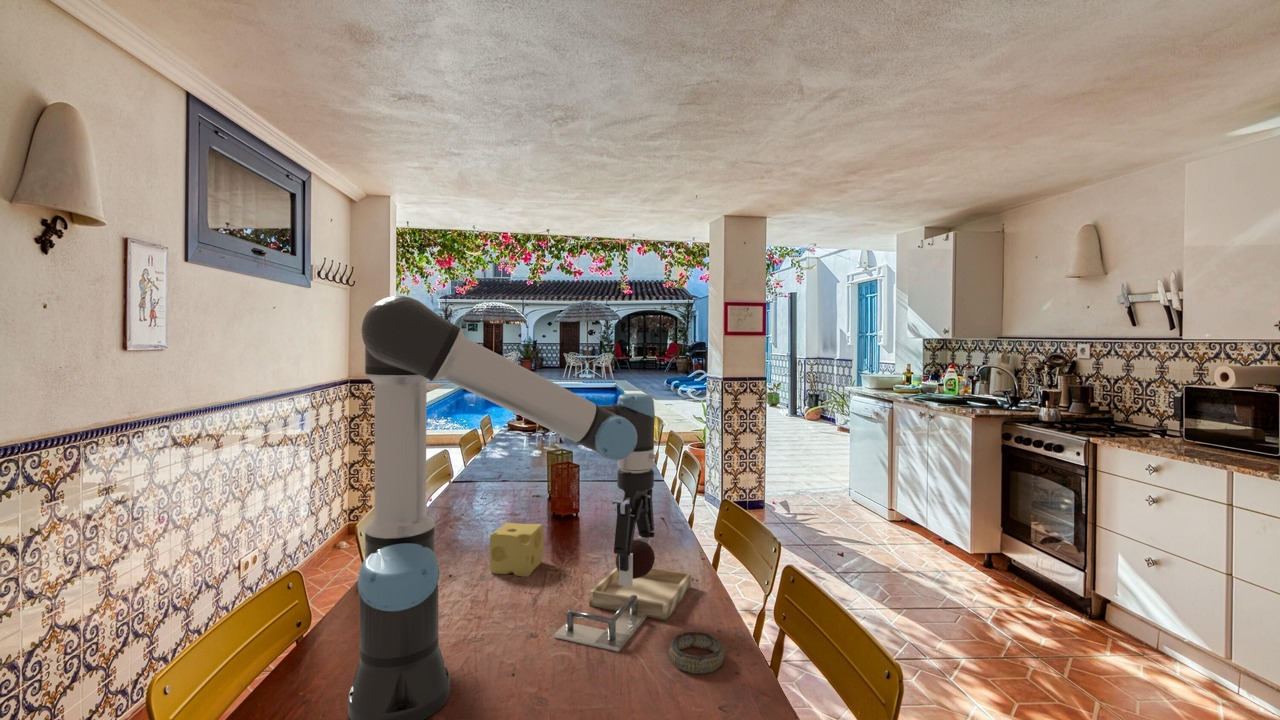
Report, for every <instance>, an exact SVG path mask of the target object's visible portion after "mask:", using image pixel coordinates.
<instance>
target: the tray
mask: <svg viewBox="0 0 1280 720" xmlns="http://www.w3.org/2000/svg"><path fill="white" fill-rule="evenodd" d="M691 587H692V573H691V572H690V573H689V572H684V571H683V572H682V571H677V570H671V569H665V568H659V567H652V569H651V570H650V572H649V573H647V574H646V575H645V576H643V577H640V578H636V579H633V586H632V587H629V586H623V585H619V571H618V569H617V567H614V569H612V570H611V571H610V572H609V573H608V574H607V575H605V577H603V579H601V580H600V581H599V582H598V583H597V584H596V585H595V586H594V587H592V589H590V590H589V594H588V595H589V596H588V597H589V601H588V602H589V606H590V607H594V608H599V609H606V610H610V611H616V612H617V611H618V610H619V609H620V608H621V607H622V606H623V605H624V604H625V603H626V602H627V601H628V599H629V598H630V596H631V595H636V596H637V611H638V612H643V613H647V617H646V618H651V619H654V620H655V619H656V620H660V621H668V619H669V618H670V616H671V615H672V614H673V612H674V611H675V610H676V609H677V607H678V606H679V604H680V603H681V601H682V600H683V599H684V597H685V596H686V595H687V593H688V592H689V590H690V589H691ZM627 609H628V610H630V606H629V607H628V608H627Z"/></svg>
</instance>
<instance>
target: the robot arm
mask: <svg viewBox="0 0 1280 720" xmlns="http://www.w3.org/2000/svg"><path fill="white" fill-rule="evenodd" d="M361 337H362V342H363V344H364V346H365V347H364V357H365V358H364V360H365V361H364V366H365V367H364V368H365V369H364V372H365V373H364V375H365V377H366V378H368V380H369V381H371V382H372V383H373V385H374V519H372V521H371V522H370V523H369V524H368V525H367V526H365V530H364V531H365V532H364V537H365V538H364V541H365V542H364V560H363V561H362V563H361V565H360V567H359V573H358V578H357V591H358V595H359V597H358V598H359V599H358V600H359V601H358V602H359V606H358V607H359V613H358V614H359V663H358V665H357V669H356V671H355V674H354V677H353V682H352V685H351V688H350V690H349V693H348V698H347V714H348V718H349V720H424V719H425V720H426V719H427V720H428V717H429V718H430V717H432V716H433V715H435V714H436V713H437V712H439V711H440V710H441V709H442V708H443V707H444V706H445V705H446V703H447V702H448V700H449V698H450V695H451V675H450V673H449V670H448V669H447V667H446V665H445V661H444V658H443V655H442V652H441V649H440V645H439V580H440V567H439V564H438V563H439V562H438V557H437V556H436V555H437V554H436V551H435V550H436V549H435V544H436V542H435V539H436V538H435V537H436V535H435V534H436V533H435V529H436V527H435V525H436V524H435V520H433V519H432V518H431V517H430V516H429V515H428V514H427V385H428V383H429V381H432V382H436V381H439V380H445V381H447V382H449V383H451V384H453V385H455V386H457V387H459V388H462V389H463V390H466V391H467V392H470V393H472V394H474V395H476V396H478V397H481V398H483V399H484V400H487V401H489V402H491V403H493V404H496V405H497V406H499V407H501V408H503V409H506V410H508V411H511V412H512V413H514V414H516V415H519V416H521V417H522V418H525V419H526V420H529V421H531V422H533V423H535V424H537V425H539V426H542V427H544V428H546V429H548V430H550V431H553V432H554V433H556V434H558V435H559V437H560V439H561V441H562V442H563V444H565V445H566V446H567V445H568V446H569V445H575V446H579V445H580V446H583V447H585V448H588V449H589V450H591V451H593V452H596V453H597V454H599V455H600V456H601V457H602V458H606V459H607V460H608V459H609V460H613V461H617V468H619V469H618V470H617V476H616V477H617V479H616V480H617V482H616V483H617V485H616V486H617V488H618V489H620V490H622V491H623V492H624V493H623V494H624V495H623V499H622V502H617V504H616V523H615V524H616V525H615V532H614V533H615V535H614V544H613V545H614V546H613V554H615V555H617V554H619V585H623V586H629V587H632V586H633V553H631V548H632V543H633V540H634V536H635V530H636V528H637V531H638V537H636V540H640V541H643V542H646V543H647V544H649V545H650V546H651V538H655V532H654V531H655V519H654V509H653V508H654V507H653V488H654V487H655V485H654V484H655V478H654V477H655V476H654V475H655V473H654V472H655V471H654V469H653V468H654V467H655V465H654V464H655V463H654V462H655V459H656V458H657V455H656V454H654V453H655V444H654V443H655V419H656V415H655V414H656V413H655V411H656V410H655V403H654V402H655V400H654V398H653V397H652V395H650V394H647V393H623V394H620V395H619V396H618V398H617V401H616V403H615V404H609V405H598V404H596V403H594V402H593V401H590V400H589V399H586V398H585V397H583V396H581V395H578V394H577V393H574V392H572V391H571V390H569V389H567V388H565V387H563V386H562V385H559V384H557V383H555V382H553V381H551V380H549V379H547V378H545V377H543V376H542V375H540V374H538V373H536V372H534V371H532V370H530V369H528V368H526V367H524V366H522V365H520V364H518V363H516V362H515V361H512V360H511V359H509V358H506V357H504V356H502V355H501V354H498V353H497V352H495V351H494V350H493V351H492V350H491V349H489V348H486V347H484V346H483V345H481V344H479V343H477V342H475V341H473V340H471V339H470V338H468V337H466V336H465V334H464V330H463V328H461V327H460V326H457V325H455V324H453V323H452V322H450V321H448V320H446V319H445V318H444V317H442V316H440V315H439V314H438V313H436V312H434V311H433V310H432V309H430V307H428V306H427V305H425V304H424V303H423V302H421V301H419V300H417V299H415V298H413V297H410V296H404V295H394V296H389V297H386V298H383V299H380V300H379V301H377V302H375V303H374V304H373V305H372V306H371V307H370V308H369V309H368V311H367V312H366V313H365V316H364V317H363V319H362V324H361Z"/></svg>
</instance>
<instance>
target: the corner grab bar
mask: <svg viewBox="0 0 1280 720" xmlns="http://www.w3.org/2000/svg"><path fill="white" fill-rule="evenodd" d="M629 606H630V610H628V609H627V608H628V607H629ZM565 613H566V616H565V617H566V622H565V624H563V625H561V627H560V628H558V630H557V631H555V633H554V638H555V639H559V640H562V641H568V642H572V643H577V644H581V645H584V646H585V645H586V646H591V647H594V648H595V647H596V648H600V649H604V650H608V651H612V652H616V653H617V652H618V653H619V652H620V651H621V650H622V648H623V647H624V646H625V645H626V643H627V642H628V641H629V639H631V637H632V636H633V635H634V633H635V632H636V631H637V630H638V629H637V628H639V627H640V626H641V624H643V622H644V621H645V620H646V619H647V618H648V617H647V613H643V612H638V611H637V596H636V595H631V596H630V598H629V599H628V601H627V602H626V603H625V604H624V605H623V606H622V607H621V608H620V609H619V610H618V611H616V612H615V614H614V615H613V616H612V617H607V616H602V615H599V614H598V615H597V614H592V613H588V612H587V613H586V612H583V611H578V610H574V609H573V610H572V609H567V610H566V612H565ZM574 617H576V618H579V619H586V620H590V621H595V622H600V623H604V624H605V623H606V624H608V625H607V628H606V629H601V628H596V627H592V626H588V625H585V624H584V625H583V624H578V623H574V621H575V619H574Z"/></svg>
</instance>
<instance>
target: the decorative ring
mask: <svg viewBox="0 0 1280 720" xmlns="http://www.w3.org/2000/svg"><path fill="white" fill-rule="evenodd" d="M686 649H687V650H688V649H702V650H707V651H709V652H711V653H710V654H706V655H705V654H704V655H694V654H692V655H691V654H690V653H689V654H688V653H685V652H682V651H683V650H686ZM725 654H726V653H725V649H724V647H723V645H722V642H721V640H719V639H718V638H717V637H716V636H714V635H711V634H709V633H706V632H702V631H688V632H683V633H680V634H677V635H676V636H675V637H674V638H672V640H671V642H670V645H669V647H668V655H669V658H670V661H671V663H672V664H673V666H675V667H676V669H679V670H680V671H681V672H682V671H683V672H685V673H688V674H693V675H704V674H705V675H706V674H711V673H713V672H716V671H717V670H718V669H720V668H721V666H722V664H723V662H724V659H725Z"/></svg>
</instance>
